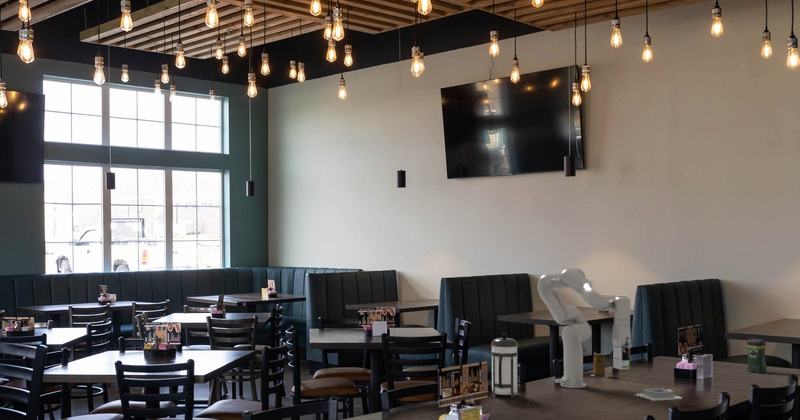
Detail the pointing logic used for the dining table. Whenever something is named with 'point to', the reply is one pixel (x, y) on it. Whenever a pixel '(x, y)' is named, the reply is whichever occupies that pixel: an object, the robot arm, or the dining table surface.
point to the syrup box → (619, 357)
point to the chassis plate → (658, 394)
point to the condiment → (599, 366)
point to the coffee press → (504, 366)
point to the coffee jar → (756, 355)
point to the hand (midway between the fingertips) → (621, 358)
